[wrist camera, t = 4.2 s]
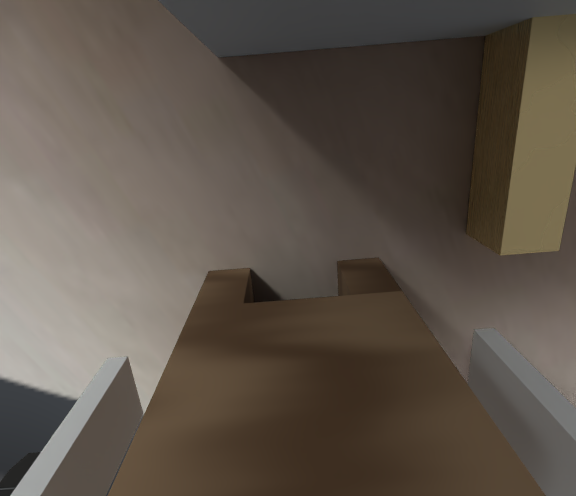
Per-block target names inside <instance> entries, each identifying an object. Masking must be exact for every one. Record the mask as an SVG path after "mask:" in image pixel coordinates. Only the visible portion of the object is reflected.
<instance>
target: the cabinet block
mask: <svg viewBox="0 0 576 496" xmlns="http://www.w3.org/2000/svg"><path fill="white" fill-rule="evenodd" d="M337 266H338V296H332V297H319V298H307V299H294V300H281V301H269V302H256V303H254V297H253V288H252V280H251V272H250V268H243V269H230V270H218V271H209V272H208V274H207V276H206V279H205V281H204V283H203V285H202V287H201V290H200V292H199V294H198V296H197V299H196V301H195V303H194V305H193V307H192V310H191V312H190V314H189V316H188V319H187V321H186V323H185V325H184V327H183V330H182V332H181V334H180V336H179V339H178V341H177V343H176V345H175V347H174V350H173V352H172V354H171V356H170V359H169V361H168V363H167V365H166V367H165V370H164V372H163V374H162V376H161V379H160V381H159V383H158V385H157V387H156V390H155V392H154V394H153V396H152V399H151V401H150V403H149V405H148V407H147V410H146V412H145V414H144V416H143V419H142V421H141V423H140V425H139V427H138V430H137V432H136V434H135V436H134V439H133V441H132V443H131V445H130V447H129V450H128V452H127V454H126V456H125V459H124V461H123V463H122V465H121V468H120V470H119V472H118V474H117V476H116V479H115V481H114V483H113V485H112V488H111V490H110V492H109V494H108V496H546V495H545V494H544V492H543V491H542V489H541V488H540V487H539V485H538V484H537V482H536V481H535V480H534V478H533V477H532V475H531V474H530V472H529V471H528V470H527V468H526V467H525V465H524V464H523V462H522V461H521V460H520V458H519V457H518V455H517V454H516V452H515V451H514V450H513V448H512V447H511V445H510V444H509V443H508V441H507V440H506V438H505V437H504V435H503V434H502V433H501V431H500V430H499V428H498V427H497V425H496V424H495V423H494V421H493V420H492V418H491V417H490V415H489V414H488V413H487V411H486V410H485V408H484V407H483V406H482V404H481V403H480V401H479V400H478V398H477V397H476V396H475V394H474V393H473V391H472V390H471V388H470V387H469V386H468V384H467V383H466V381H465V380H464V378H463V377H462V376H461V374H460V373H459V371H458V370H457V368H456V367H455V366H454V364H453V363H452V361H451V360H450V359H449V357H448V356H447V354H446V353H445V351H444V350H443V349H442V347H441V346H440V344H439V343H438V341H437V340H436V339H435V337H434V336H433V334H432V333H431V331H430V330H429V329H428V327H427V326H426V324H425V323H424V322H423V320H422V319H421V317H420V316H419V314H418V313H417V312H416V310H415V309H414V307H413V306H412V304H411V303H410V302H409V300H408V299H407V297H406V296H405V294H404V293H403V292H402V290H401V289H400V287H399V286H398V285H397V283H396V282H395V280H394V279H393V277H392V276H391V275H390V273H389V272H388V270H387V269H386V267H385V266H384V265H383V263H382V262H381V260H380V259H379V258H368V259H355V260H343V261H337Z"/></svg>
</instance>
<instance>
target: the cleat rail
mask: <svg viewBox="0 0 576 496" xmlns="http://www.w3.org/2000/svg"><path fill="white" fill-rule="evenodd" d="M575 167H576V14H567V15H555V16H543V17H532V18H530V19H527V20H525V21H522V22H519V23H517V24H514V25H512V26H509V27H506V28H504V29H501V30H499V31H496V32H493V33H491V34H488V35H486V36H485V46H484V56H483V66H482V76H481V86H480V96H479V107H478V117H477V127H476V137H475V147H474V157H473V167H472V177H471V188H470V198H469V208H468V218H467V228H466V234H467V235H469V236H470V237H472V238H473V239H475V240H477V241H478V242H480V243H481V244H483V245H484V246H486V247H488V248H489V249H491V250H492V251H494V252H496V253H497V254H499V255H513V254H525V253H538V252H550V251H559V249H560V244H561V239H562V234H563V228H564V223H565V218H566V213H567V208H568V203H569V198H570V193H571V188H572V182H573V177H574V172H575Z"/></svg>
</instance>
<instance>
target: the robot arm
mask: <svg viewBox="0 0 576 496" xmlns="http://www.w3.org/2000/svg"><path fill="white" fill-rule="evenodd" d="M468 386H469V387H470V388H471V390H472V391H473V393H474V394H475V396H476V397H477V398H478V400H479V401H480V403H481V404H482V406H483V407H484V408H485V410H486V411H487V413H488V414H489V415H490V417H491V418H492V420H493V421H494V423H495V424H496V425H497V427H498V428H499V430H500V431H501V433H502V434H503V435H504V437H505V438H506V440H507V441H508V443H509V444H510V445H511V447H512V448H513V450H514V451H515V452H516V454H517V455H518V457H519V458H520V460H521V461H522V462H523V464H524V465H525V467H526V468H527V470H528V471H529V472H530V474H531V475H532V477H533V478H534V480H535V481H536V482H537V484H538V485H539V487H540V488H541V489H542V491H543V492H544V494H545V495H546V496H576V408H575V407H574V406H573V405H572V404H571V403H570V402H569V401H568V400H567V399H566V398H565V397H564V396H563V395H562V394H561V393H560V392H559V391H558V390H557V389H556V388H555V387H554V386H553V385H552V384H551V383H550V382H549V381H548V380H547V379H546V378H545V377H544V376H543V375H542V374H541V373H540V372H539V371H538V370H537V369H536V368H535V367H533V366H532V365H531V364H530V363H529V362H528V361H527V360H526V359H525V358H524V357H523V356H522V355H521V354H520V353H519V352H518V351H517V350H516V349H515V348H514V347H513V346H512V345H511V344H510V343H509V342H508V341H507V340H506V339H505V338H504V337H503V336H502V335H501V334H500V333H499V332H498V331H497V330H496V329H495V328H485V329H474V333H473V341H472V350H471V358H470V367H469V375H468ZM142 415H143V410H142V407H141V403H140V399H139V396H138V392H137V388H136V385H135V381H134V378H133V374H132V370H131V367H130V363H129V359H128V357H115V358H107V360H106V361H105V363H104V364H103V365H102V367H101V368H100V370H99V371H98V372H97V374H96V375H95V377H94V378H93V379H92V381H91V382H90V384H89V385H88V387H87V388H86V389H85V391H84V392H83V394H82V395H81V396H80V398H79V399H78V401H77V402H76V404H75V405H74V406H73V408H72V409H71V411H70V412H69V413H68V415H67V416H66V418H65V419H64V420H63V422H62V423H61V425H60V426H59V428H58V429H57V430H56V432H55V433H54V435H53V436H52V437H51V439H50V440H49V442H48V443H47V445H46V446H45V447H44V449H43V450H42V452H38V453H28V454H27V455H26V456H25V457H24V458H23V459H21V460H20V461H19V462H18V463H17V464H16V465H14V466H13V467H12V468H11V469H10V470H9V471H8V473H7V474H6V475H5V476H4V478H3V479H2V481H1V482H0V496H106V494H107V492H108V489H109V487H110V484H111V483H112V481H113V478H114V476H115V474H116V472H117V470H118V467H119V465H120V463H121V461H122V459H123V457H124V454H125V452H126V450H127V448H128V446H129V443H130V441H131V439H132V437H133V435H134V432H135V430H136V428H137V426H138V424H139V421H140V419H141V417H142Z"/></svg>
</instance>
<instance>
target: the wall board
mask: <svg viewBox="0 0 576 496" xmlns="http://www.w3.org/2000/svg"><path fill="white" fill-rule="evenodd" d="M158 1H159V2H160V3H161V4H162V5H163V6H164V7H166V8H167V9H168V10H169V11H170V12H171V13H172V14H173V15H174V16H175V17H176V18H177V19H178V20H179V21H180V22H181V23H182V24H183V25H184V26H185V27H187V28H188V29H189V30H190V31H191V32H192V33H193V34H194V35H195V36H196V37H197V38H198V39H199V40H200V41H201V42H202V43H203V44H204V45H205V46H206V47H208V48H209V49H210V50H211V51H212V52H213V53H214V54H215V55H216V56H217V57H230V56H243V55H255V54H267V53H279V52H291V51H304V50H316V49H328V48H340V47H352V46H365V45H377V44H389V43H401V42H413V41H425V40H438V39H450V38H462V37H474V36H486V35H488V34H491V33H493V32H496V31H499V30H501V29H504V28H506V27H509V26H512V25H514V24H517V23H519V22H522V21H525V20H527V19H530V18H532V17H543V16H555V15H567V14H576V0H158Z"/></svg>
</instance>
